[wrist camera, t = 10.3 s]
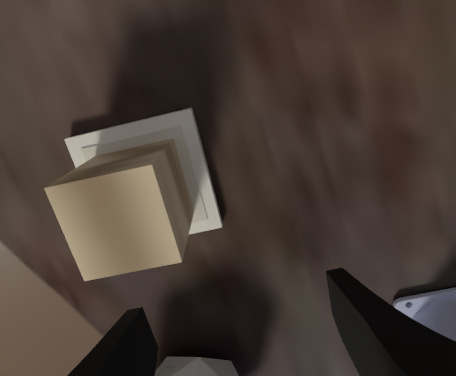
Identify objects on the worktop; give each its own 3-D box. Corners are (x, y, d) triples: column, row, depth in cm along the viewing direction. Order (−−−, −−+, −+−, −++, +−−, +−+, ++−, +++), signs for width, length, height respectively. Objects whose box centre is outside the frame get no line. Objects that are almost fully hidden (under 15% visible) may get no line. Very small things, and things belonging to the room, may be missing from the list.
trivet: (192, 107, 20) (190, 108, 19) (222, 222, 23) (222, 227, 22) (70, 136, 21) (63, 139, 20) (113, 245, 23) (108, 252, 22)
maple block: (173, 138, 20) (151, 164, 14) (194, 212, 22) (182, 262, 16) (95, 155, 20) (44, 188, 15) (121, 227, 22) (84, 281, 16)
